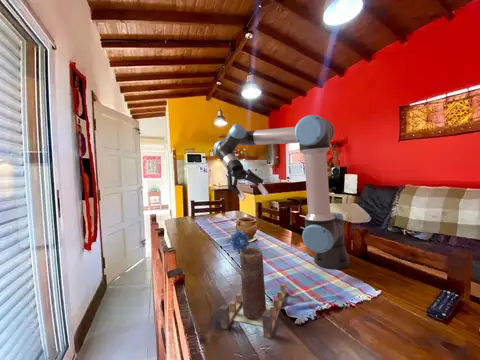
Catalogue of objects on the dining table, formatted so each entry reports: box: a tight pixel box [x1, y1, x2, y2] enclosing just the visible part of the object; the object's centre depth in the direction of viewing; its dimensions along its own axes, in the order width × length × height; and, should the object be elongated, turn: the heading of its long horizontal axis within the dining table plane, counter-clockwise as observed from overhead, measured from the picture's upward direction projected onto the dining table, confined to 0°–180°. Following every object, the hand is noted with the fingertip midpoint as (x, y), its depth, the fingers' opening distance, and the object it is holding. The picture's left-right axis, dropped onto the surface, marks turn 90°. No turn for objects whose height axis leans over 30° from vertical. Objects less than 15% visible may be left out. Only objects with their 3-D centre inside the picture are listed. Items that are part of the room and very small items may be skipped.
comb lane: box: [219, 282, 288, 339], centre depth 80 cm, size 15×24×6 cm, turn 158°
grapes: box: [229, 230, 250, 253], centre depth 132 cm, size 12×7×12 cm, turn 119°
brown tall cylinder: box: [239, 247, 267, 318], centre depth 76 cm, size 8×7×20 cm
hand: (255, 197), depth 108 cm, fingers open, 13 cm apart
